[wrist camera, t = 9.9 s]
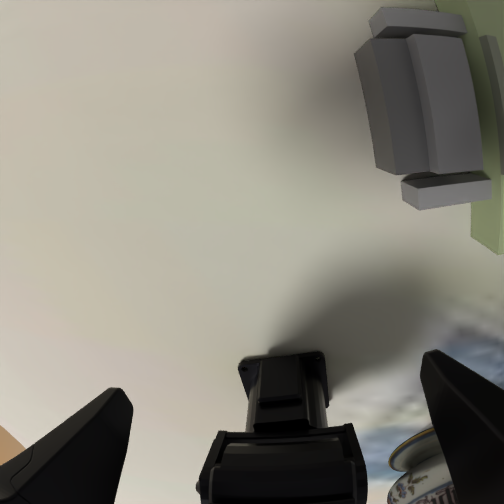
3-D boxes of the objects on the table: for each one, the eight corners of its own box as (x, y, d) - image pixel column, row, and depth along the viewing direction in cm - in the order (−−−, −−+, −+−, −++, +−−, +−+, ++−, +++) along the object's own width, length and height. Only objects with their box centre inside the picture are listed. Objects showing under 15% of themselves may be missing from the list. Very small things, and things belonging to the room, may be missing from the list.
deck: (544, 220, 16) (577, 238, 12) (405, 249, 19) (432, 278, 15) (514, 5, 10) (546, -5, 6) (353, -22, 12) (371, -54, 8)
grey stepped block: (444, 159, 16) (483, 169, 12) (375, 166, 17) (403, 178, 13) (425, 53, 14) (461, 38, 10) (353, 54, 15) (376, 33, 10)
